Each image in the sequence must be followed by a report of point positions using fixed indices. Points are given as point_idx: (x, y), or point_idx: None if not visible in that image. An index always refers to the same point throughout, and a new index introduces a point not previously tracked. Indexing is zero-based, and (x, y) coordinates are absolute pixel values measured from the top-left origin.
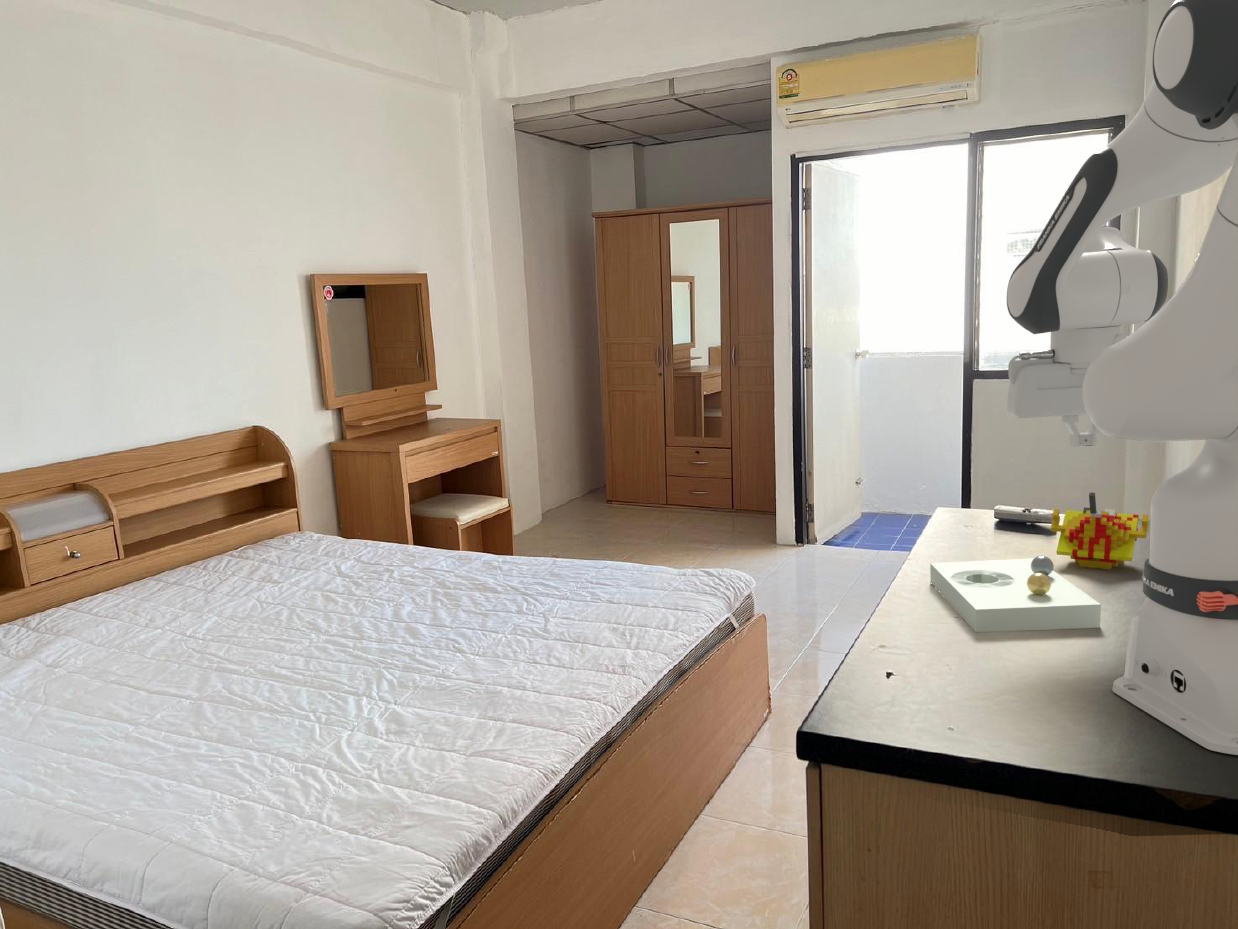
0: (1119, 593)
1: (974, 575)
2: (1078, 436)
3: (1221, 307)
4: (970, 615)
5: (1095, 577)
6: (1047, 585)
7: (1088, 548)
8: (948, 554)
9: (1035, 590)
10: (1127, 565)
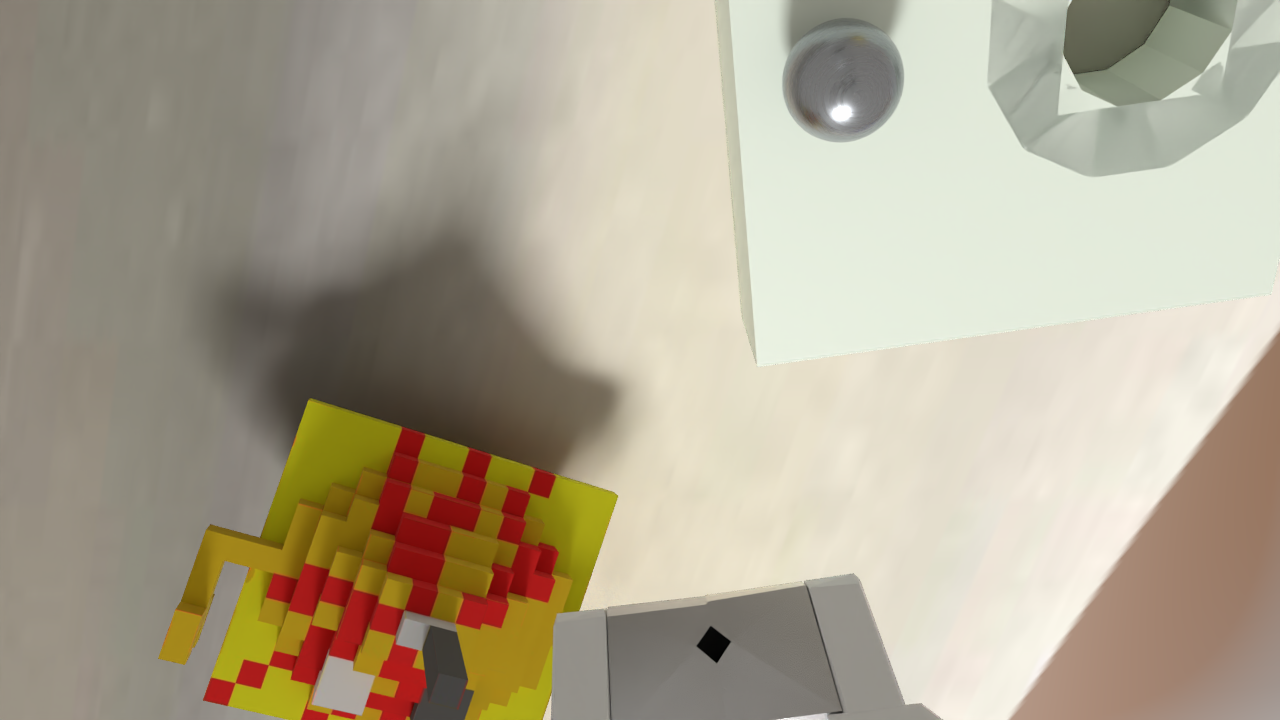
0: (429, 100)
1: (1149, 99)
2: (848, 682)
3: None
4: None
5: (483, 331)
6: None
7: (485, 481)
8: (977, 606)
9: None
10: None
